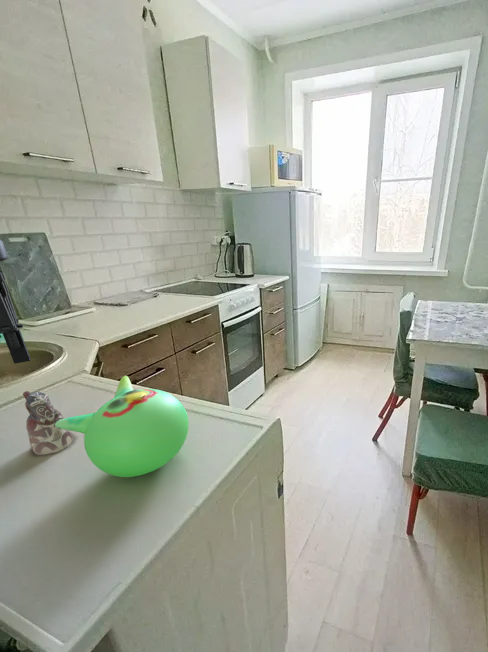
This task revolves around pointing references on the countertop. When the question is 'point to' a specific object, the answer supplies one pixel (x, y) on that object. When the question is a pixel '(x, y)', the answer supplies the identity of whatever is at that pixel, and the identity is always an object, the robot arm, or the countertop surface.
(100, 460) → the toy bird
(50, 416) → the figurine
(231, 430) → the countertop surface
